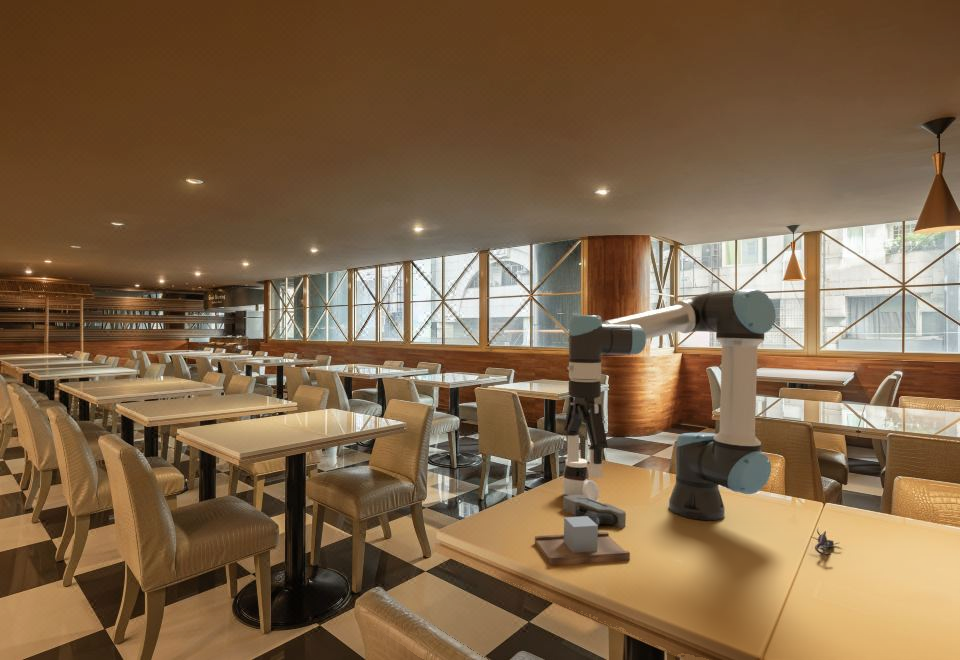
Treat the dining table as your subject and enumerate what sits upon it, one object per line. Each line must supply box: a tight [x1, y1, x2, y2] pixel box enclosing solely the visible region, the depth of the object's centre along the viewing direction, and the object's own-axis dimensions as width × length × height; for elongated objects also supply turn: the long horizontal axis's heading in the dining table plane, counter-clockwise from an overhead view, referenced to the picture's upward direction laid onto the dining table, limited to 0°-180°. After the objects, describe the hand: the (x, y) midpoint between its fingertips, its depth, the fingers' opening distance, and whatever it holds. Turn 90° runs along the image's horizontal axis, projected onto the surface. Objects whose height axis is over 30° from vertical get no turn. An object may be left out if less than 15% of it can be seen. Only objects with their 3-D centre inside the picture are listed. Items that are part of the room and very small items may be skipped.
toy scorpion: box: [811, 528, 841, 557], centre depth 125 cm, size 6×18×5 cm, turn 138°
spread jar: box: [562, 457, 600, 502], centre depth 159 cm, size 12×11×12 cm
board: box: [534, 531, 631, 567], centre depth 121 cm, size 19×12×2 cm, turn 101°
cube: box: [563, 516, 599, 553], centre depth 121 cm, size 6×6×6 cm
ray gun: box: [562, 494, 627, 529], centre depth 141 cm, size 4×19×15 cm
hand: (583, 469), depth 121 cm, fingers open, 13 cm apart
